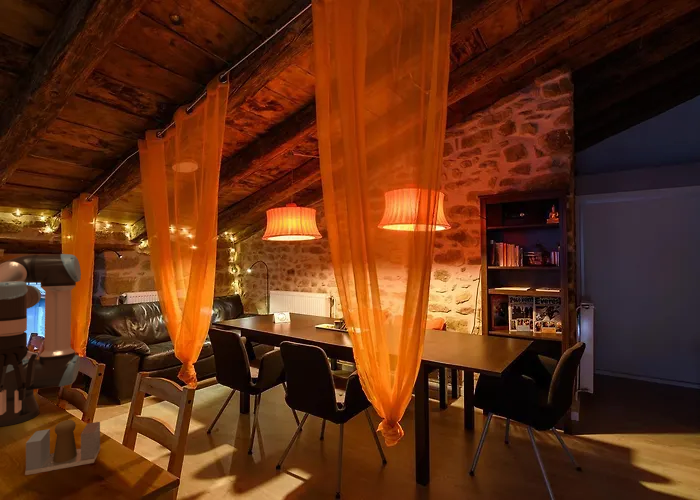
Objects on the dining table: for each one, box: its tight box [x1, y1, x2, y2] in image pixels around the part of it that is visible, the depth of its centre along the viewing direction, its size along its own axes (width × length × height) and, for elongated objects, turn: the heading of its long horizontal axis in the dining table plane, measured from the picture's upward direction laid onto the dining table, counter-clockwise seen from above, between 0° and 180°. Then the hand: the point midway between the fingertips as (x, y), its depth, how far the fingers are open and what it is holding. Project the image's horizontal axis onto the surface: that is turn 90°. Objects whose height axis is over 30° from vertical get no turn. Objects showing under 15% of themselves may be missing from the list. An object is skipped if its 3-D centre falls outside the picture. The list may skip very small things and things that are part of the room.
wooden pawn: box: [53, 419, 77, 463], centre depth 119 cm, size 6×6×11 cm
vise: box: [24, 421, 101, 476], centre depth 119 cm, size 9×17×9 cm, turn 113°
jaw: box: [25, 428, 51, 471], centre depth 116 cm, size 8×4×8 cm, turn 23°
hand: (10, 412), depth 114 cm, fingers open, 3 cm apart
